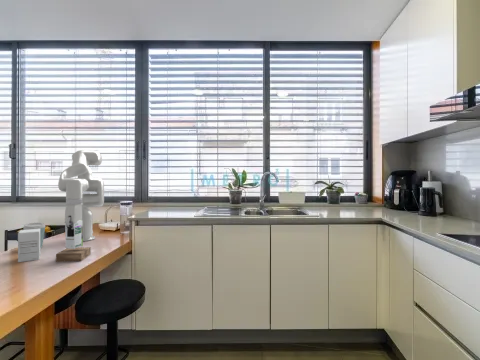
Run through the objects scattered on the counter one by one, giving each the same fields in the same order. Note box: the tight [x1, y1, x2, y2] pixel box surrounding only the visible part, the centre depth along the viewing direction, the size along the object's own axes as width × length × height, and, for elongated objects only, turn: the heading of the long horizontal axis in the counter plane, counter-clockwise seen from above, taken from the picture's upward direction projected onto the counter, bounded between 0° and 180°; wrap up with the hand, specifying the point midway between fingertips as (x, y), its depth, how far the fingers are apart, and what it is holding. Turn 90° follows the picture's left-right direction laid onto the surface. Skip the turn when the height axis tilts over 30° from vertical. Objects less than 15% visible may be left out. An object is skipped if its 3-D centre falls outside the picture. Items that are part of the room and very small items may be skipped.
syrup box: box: [64, 220, 84, 249], centre depth 144 cm, size 6×6×14 cm
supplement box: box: [17, 229, 41, 263], centre depth 141 cm, size 9×9×15 cm
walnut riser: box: [55, 246, 92, 263], centre depth 144 cm, size 12×12×4 cm
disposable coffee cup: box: [22, 222, 47, 249], centre depth 160 cm, size 11×11×15 cm
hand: (74, 234), depth 144 cm, fingers closed on syrup box, 7 cm apart
